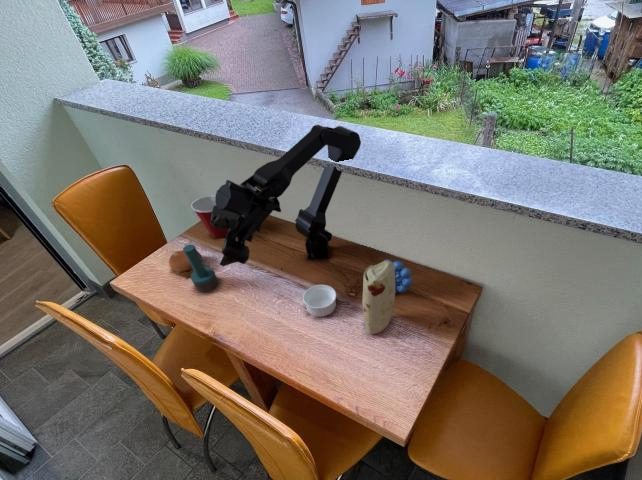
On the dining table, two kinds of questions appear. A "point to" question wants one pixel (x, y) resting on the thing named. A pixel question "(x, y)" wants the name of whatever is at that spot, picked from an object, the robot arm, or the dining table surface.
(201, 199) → the plastic cup
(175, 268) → the burger
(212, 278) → the teal peg stand
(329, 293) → the ramekin
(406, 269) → the grapes
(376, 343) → the dining table surface
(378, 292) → the food model
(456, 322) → the dining table surface
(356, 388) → the dining table surface
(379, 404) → the dining table surface
